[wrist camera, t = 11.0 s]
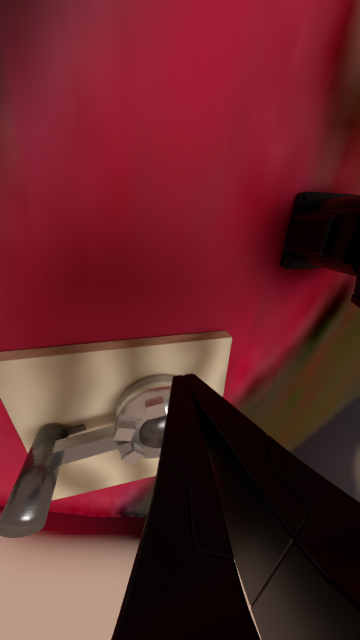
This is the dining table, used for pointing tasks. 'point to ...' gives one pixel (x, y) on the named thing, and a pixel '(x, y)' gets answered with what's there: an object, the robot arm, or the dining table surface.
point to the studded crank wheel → (86, 452)
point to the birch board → (100, 393)
